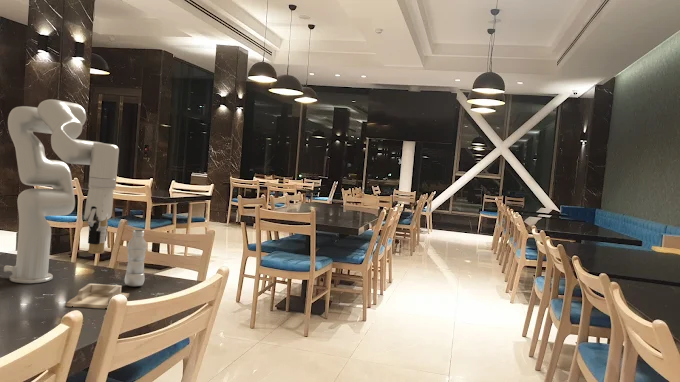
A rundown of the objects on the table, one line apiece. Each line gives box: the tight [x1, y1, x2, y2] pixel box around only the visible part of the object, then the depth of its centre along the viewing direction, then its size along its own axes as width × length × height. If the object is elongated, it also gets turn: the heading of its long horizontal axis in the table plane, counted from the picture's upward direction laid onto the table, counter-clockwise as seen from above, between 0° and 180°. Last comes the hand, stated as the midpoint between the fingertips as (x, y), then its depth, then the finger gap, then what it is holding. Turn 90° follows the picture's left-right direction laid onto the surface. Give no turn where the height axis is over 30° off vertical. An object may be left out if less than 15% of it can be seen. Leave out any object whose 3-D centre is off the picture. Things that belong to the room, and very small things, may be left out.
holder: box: [65, 283, 130, 309], centre depth 150 cm, size 14×14×4 cm
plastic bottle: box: [124, 229, 148, 288], centre depth 170 cm, size 6×7×20 cm
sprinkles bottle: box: [87, 213, 108, 255], centre depth 147 cm, size 5×5×14 cm
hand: (97, 241), depth 147 cm, fingers closed on sprinkles bottle, 4 cm apart
